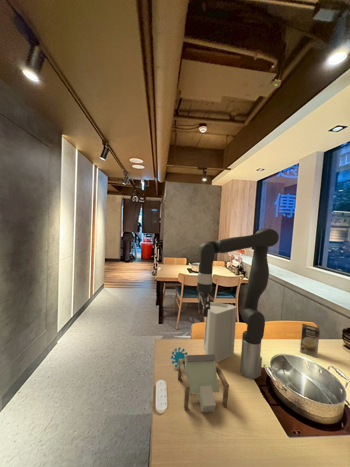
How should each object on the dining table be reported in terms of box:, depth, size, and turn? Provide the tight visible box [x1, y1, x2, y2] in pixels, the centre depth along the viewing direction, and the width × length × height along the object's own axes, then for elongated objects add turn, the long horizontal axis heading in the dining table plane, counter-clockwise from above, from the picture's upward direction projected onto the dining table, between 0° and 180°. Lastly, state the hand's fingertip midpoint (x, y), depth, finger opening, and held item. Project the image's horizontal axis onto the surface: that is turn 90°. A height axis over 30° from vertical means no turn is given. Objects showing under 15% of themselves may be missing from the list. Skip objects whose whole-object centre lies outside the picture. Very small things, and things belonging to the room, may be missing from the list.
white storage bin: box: [203, 301, 238, 363], centre depth 124 cm, size 19×15×28 cm
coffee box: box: [299, 323, 320, 358], centre depth 130 cm, size 9×6×16 cm
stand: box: [177, 359, 230, 411], centre depth 94 cm, size 18×18×10 cm
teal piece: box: [170, 346, 188, 368], centre depth 113 cm, size 11×6×10 cm
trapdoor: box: [184, 354, 220, 395], centre depth 93 cm, size 14×14×4 cm
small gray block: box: [197, 386, 217, 413], centre depth 85 cm, size 5×5×7 cm
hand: (202, 313), depth 107 cm, fingers open, 8 cm apart
